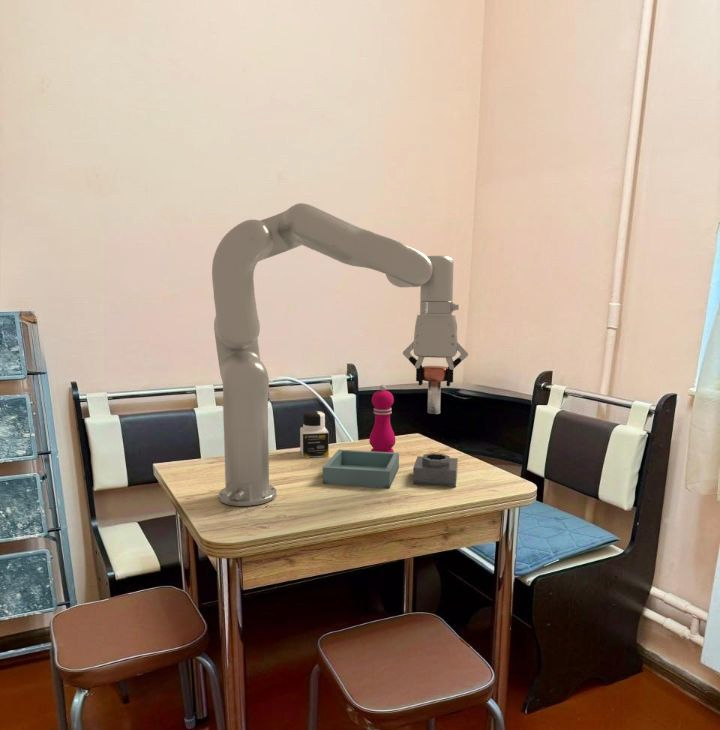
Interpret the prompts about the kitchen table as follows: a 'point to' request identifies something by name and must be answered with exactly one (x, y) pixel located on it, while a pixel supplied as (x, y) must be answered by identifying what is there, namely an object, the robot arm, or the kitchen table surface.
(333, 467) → the tray
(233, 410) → the robot arm
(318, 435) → the medicine bottle
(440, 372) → the rounded copper knob
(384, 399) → the pepper mill
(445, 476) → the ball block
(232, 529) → the kitchen table surface
